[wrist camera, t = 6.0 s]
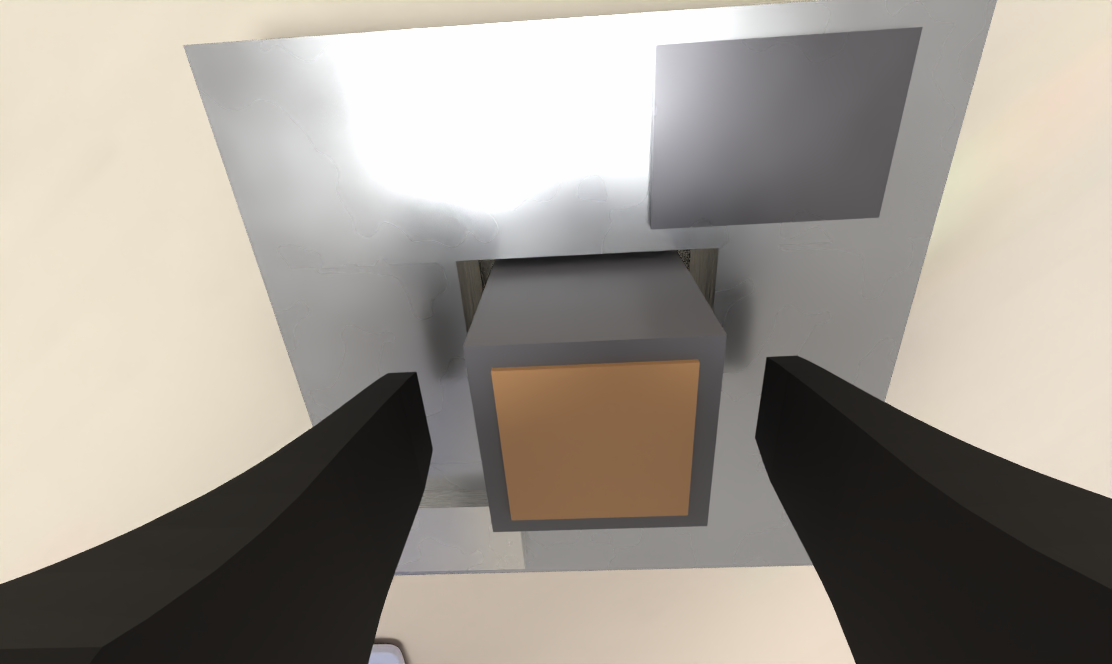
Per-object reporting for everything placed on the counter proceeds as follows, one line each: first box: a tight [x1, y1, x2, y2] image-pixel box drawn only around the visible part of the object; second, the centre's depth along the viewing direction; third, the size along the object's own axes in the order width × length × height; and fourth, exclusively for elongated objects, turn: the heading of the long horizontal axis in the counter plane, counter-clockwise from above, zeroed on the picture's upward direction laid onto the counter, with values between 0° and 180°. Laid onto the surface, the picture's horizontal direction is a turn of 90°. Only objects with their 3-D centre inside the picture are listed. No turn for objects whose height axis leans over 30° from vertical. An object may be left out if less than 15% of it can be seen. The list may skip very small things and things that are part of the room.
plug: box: [463, 250, 727, 532], centre depth 11 cm, size 4×4×6 cm
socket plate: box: [183, 0, 997, 575], centre depth 13 cm, size 14×14×3 cm
